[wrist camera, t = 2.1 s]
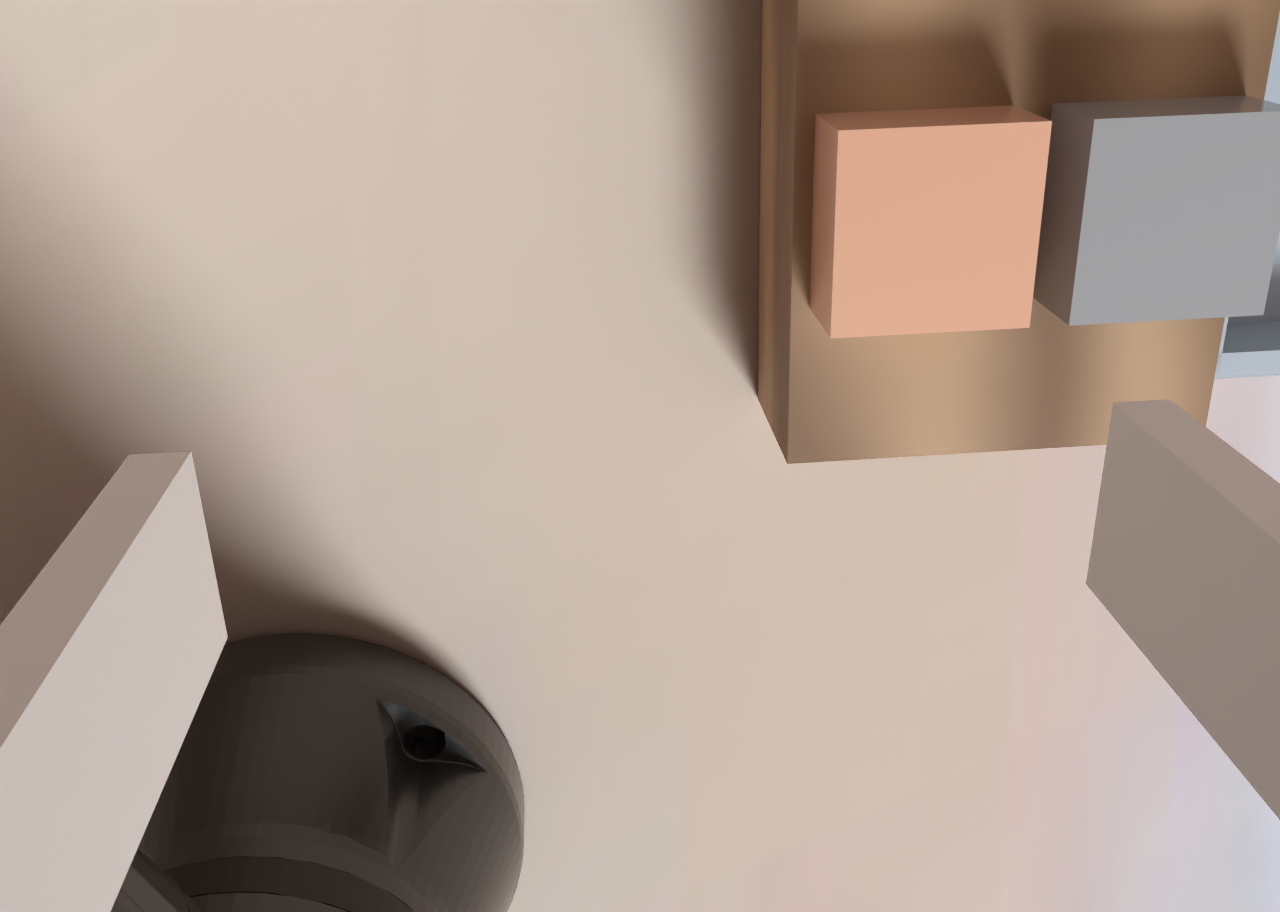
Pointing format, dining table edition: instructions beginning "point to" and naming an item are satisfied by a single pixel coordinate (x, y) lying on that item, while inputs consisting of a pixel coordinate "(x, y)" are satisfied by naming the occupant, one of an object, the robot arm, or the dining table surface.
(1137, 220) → the slate-grey tile
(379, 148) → the dining table surface
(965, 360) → the brown block
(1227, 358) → the tray
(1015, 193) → the terracotta tile
